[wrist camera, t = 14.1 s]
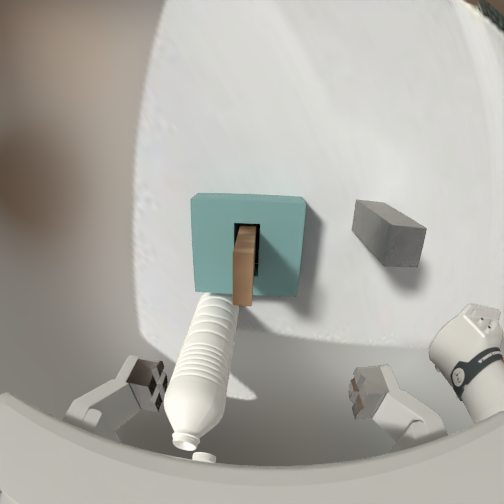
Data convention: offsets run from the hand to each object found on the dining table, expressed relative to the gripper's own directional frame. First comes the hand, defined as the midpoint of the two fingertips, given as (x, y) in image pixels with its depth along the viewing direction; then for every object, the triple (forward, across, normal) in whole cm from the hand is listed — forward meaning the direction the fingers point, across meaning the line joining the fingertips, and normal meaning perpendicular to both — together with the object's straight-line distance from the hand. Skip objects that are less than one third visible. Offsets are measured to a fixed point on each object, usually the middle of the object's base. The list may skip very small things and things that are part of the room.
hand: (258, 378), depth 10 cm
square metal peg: (+28, +15, 0) cm, 32 cm away
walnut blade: (+28, -2, -4) cm, 29 cm away
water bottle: (+29, -6, -17) cm, 34 cm away
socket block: (+28, -2, -4) cm, 29 cm away
